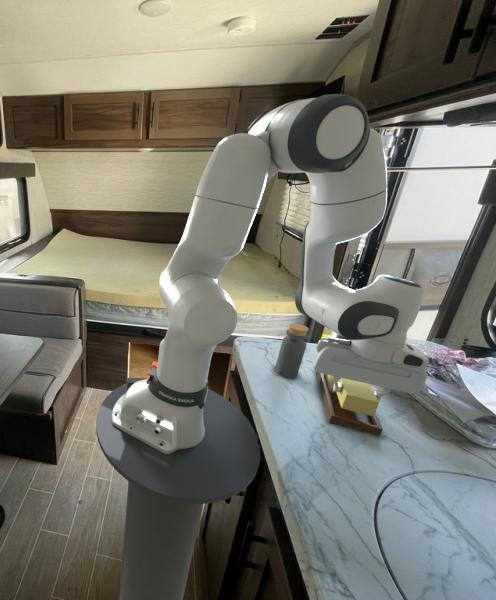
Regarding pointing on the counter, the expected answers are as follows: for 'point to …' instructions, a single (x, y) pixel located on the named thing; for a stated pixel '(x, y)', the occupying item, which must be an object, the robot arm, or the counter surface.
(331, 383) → the seated pad
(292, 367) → the bottle
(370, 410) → the foam pad
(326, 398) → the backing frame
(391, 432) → the counter surface
